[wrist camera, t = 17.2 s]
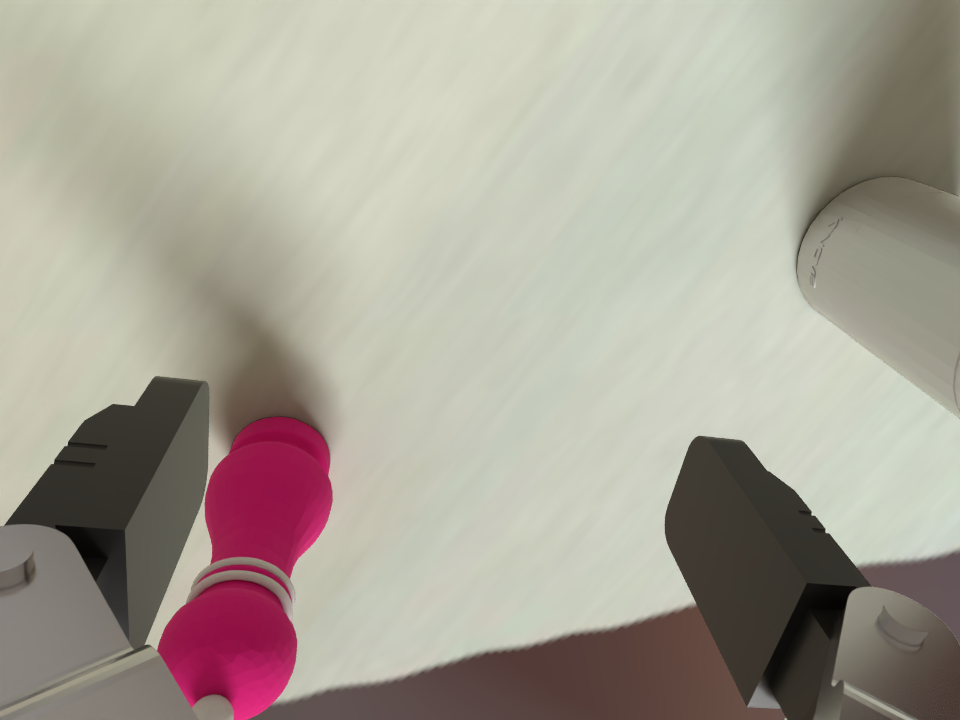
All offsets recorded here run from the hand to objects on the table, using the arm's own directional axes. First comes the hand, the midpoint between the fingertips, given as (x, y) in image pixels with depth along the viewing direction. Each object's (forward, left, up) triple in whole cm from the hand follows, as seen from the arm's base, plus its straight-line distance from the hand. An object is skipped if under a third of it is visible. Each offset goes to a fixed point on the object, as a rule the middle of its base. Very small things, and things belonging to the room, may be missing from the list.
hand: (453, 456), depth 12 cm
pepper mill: (+6, +21, -30) cm, 37 cm away
